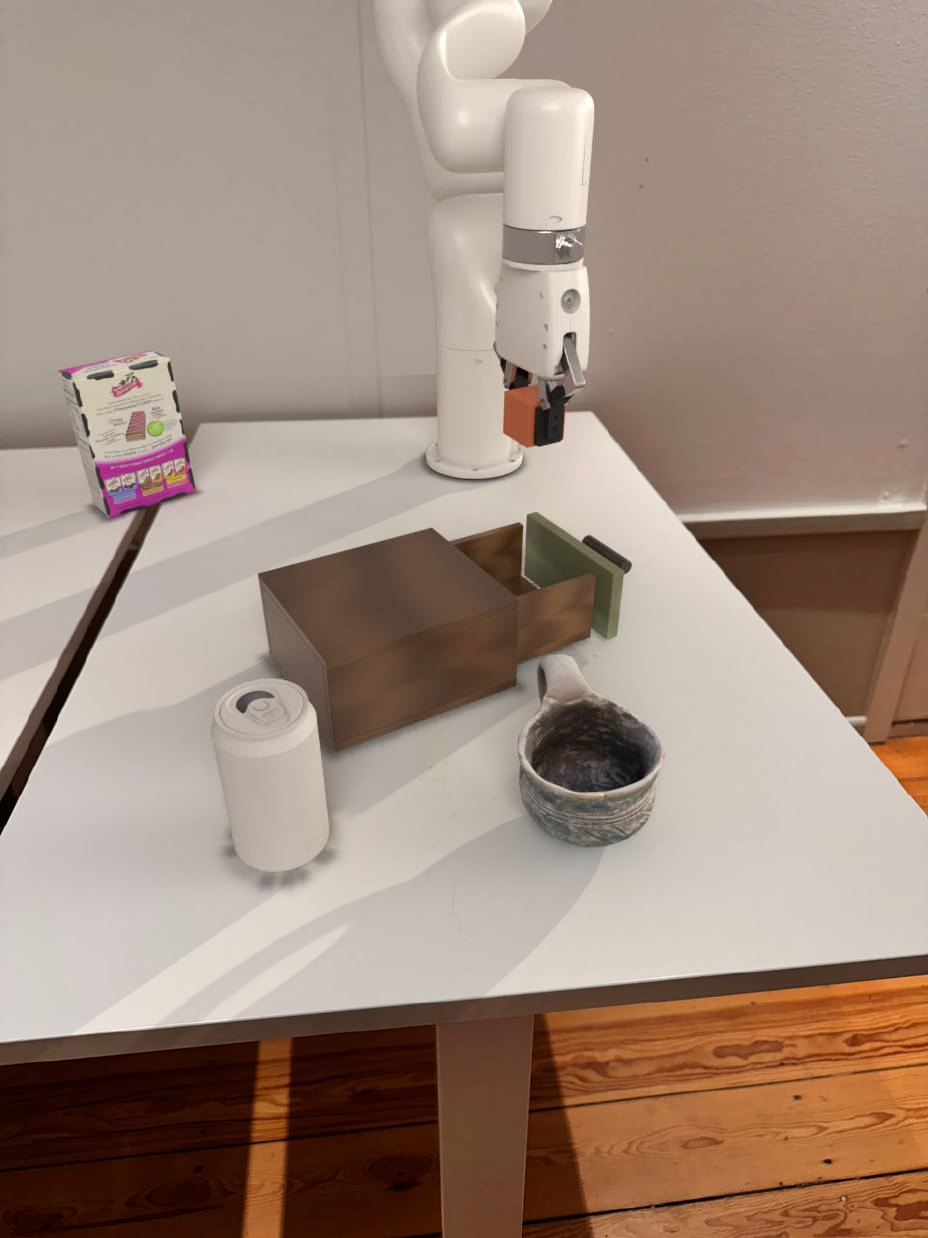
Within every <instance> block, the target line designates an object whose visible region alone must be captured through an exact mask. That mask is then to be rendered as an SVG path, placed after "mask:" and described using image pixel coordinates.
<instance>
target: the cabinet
mask: <svg viewBox="0 0 928 1238" xmlns="http://www.w3.org/2000/svg"><path fill="white" fill-rule="evenodd" d="M449 541H450V540H447V539H446V538H445V537H444V536H443V535H441V533H439V532H438V531H437V530H436V529H434V528H433V527H428V528H425V529H421V530H417V531H413V532H409V533H406V534H402V535H398V536H394V537H391V538H387V539H383V540H379V541H376V542H372V543H367V544H365V545H360V546H356V547H353V548H349V549H346V550H341V551H338V552H337V551H336V552H334V553H330V554H326V555H323V556H318V557H314V558H312V559H307V560H304V561H300V562H296V563H293V564H292V563H291V564H288V565H285V566H284V565H283V566H281V567H277V568H273V569H269V570H265V571H261V572H258V573H257V579H258V584H259V586H258V587H259V592H260V597H261V605H262V606H261V607H262V611H263V619H264V625H265V633H266V639H267V643H268V644H267V646H268V652H269V657H270V659H271V661H272V662H273V664H274V665H275V666H276V668H277V669H278V671H279V672H280V674H281V676H282V677H283V678H284V680H286V681H290V682H292V683H295V684H297V685H298V686H300V687H301V688H302V689H303V690H304V691H305V692H306V694H307V696H308V701H309V702H310V703H311V704H312V706H313V707H314V709H315V711H316V716H317V725H318V730H320V732H321V733H322V734H323V736H324V737H325V739H326V740H327V742H328V743H329V745H330V746H331V748H332V750H333V751H334V752H335V753H337V752H339V751H342V750H346V749H348V748H351V747H353V746H356V745H358V744H359V745H360V744H362V743H364V742H367V741H369V740H373V739H375V738H377V737H381V736H383V735H387V734H389V733H392V732H394V731H397V730H400V729H402V728H406V727H408V726H410V725H413V724H416V723H419V722H421V721H424V720H427V719H429V718H433V717H435V716H438V715H441V714H443V713H446V712H448V711H451V710H454V709H457V708H459V707H463V706H465V705H467V704H470V703H473V702H476V701H478V700H481V699H484V698H486V697H490V696H492V695H494V694H497V693H500V692H503V691H505V690H508V689H512V688H514V687H516V686H517V674H518V672H517V671H518V663H517V649H518V624H519V603H520V600H519V599H518V598H517V597H515V596H514V595H513V594H512V593H511V592H509V591H508V590H507V589H506V588H505V587H503V586H502V585H501V584H500V583H499V582H497V581H496V580H495V579H494V578H492V577H491V576H490V575H489V574H488V573H486V572H485V571H484V570H483V569H482V568H480V567H479V566H478V565H477V564H476V563H474V562H473V561H472V560H471V559H469V558H468V557H467V556H466V555H465V554H463V553H462V552H461V551H460V550H459V549H457V548H456V547H455V546H454V545H453V544H451V543H450V542H449Z"/></svg>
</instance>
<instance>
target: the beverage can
mask: <svg viewBox="0 0 928 1238" xmlns="http://www.w3.org/2000/svg"><path fill="white" fill-rule="evenodd" d="M213 710H214V711H213V716H214V718H213V720H212V722H211V726H210V734H211V741H212V745H213V750H214V755H215V759H216V764H217V768H218V774H219V780H220V784H221V789H222V794H223V798H224V803H225V808H226V813H227V818H228V822H229V827H230V833H231V837H232V838H231V839H232V843H233V848H234V850H235V853H236V854H237V857H238V858H239V859H240V861H242V862H243V863H244V864H245V865H247V866H248V867H250V868H252V869H255V870H257V871H260V872H266V873H282V872H288V871H291V870H295V869H298V868H300V867H302V866H305V865H306V864H309V862H312V861H313V860H314V859H315V858H316V857H317V856H318V855H319V854H320V853H321V852H322V851H323V850H324V848H325V847H326V845H327V842H328V840H329V837H330V821H329V813H328V805H327V797H326V796H327V794H326V786H325V778H324V769H323V761H322V760H323V759H322V751H321V742H320V734H319V727H318V725H317V716H316V711H315V709H314V707H313V706H312V704H311V703H310V702H309V701H308V696H307V694H306V692H305V691H304V690H303V689H302V688H301V687H300V686H298V685H297V684H295V683H292V682H290V681H286V679H282V678H271V677H270V678H259V679H254V680H249V681H246V682H243V683H241V684H238V685H236V686H234V687H232V688H231V689H229V690H228V691H226V692H225V693H224V694H223V695H222V696H221V697H220V698H219V699H218V701H217V702H216V704H215V707H214V709H213Z"/></svg>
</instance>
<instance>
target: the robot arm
mask: <svg viewBox="0 0 928 1238" xmlns="http://www.w3.org/2000/svg"><path fill="white" fill-rule="evenodd" d="M552 2H553V0H373V22H374V29H375V36H376V37H375V38H376V41H377V47H378V50H379V53H380V57H381V60H382V62H383V65H384V68H385V71H386V73H387V75H388V78H389V80H390V82H391V84H392V85H393V88H394V89H395V91H396V93H397V95H398V96H399V98H400V100H401V102H402V104H403V105H404V108H405V110H406V112H407V115H408V118H409V122H410V127H411V131H412V135H413V139H414V144H415V148H416V152H417V157H418V161H419V165H420V169H421V173H422V176H423V180H424V183H425V186H426V189H427V192H428V193H429V195H430V196H431V198H432V199H433V200H434V201H435V202H436V205H434V206H433V208H432V209H431V210H430V212H429V213H428V216H427V219H426V223H425V246H426V251H427V257H428V264H429V269H430V276H431V283H432V293H433V301H434V302H433V304H434V326H435V327H434V328H435V331H434V333H435V365H436V366H435V375H436V376H435V379H436V427H437V428H436V429H437V431H436V433H437V434H436V435H437V440H436V441H435V442H434V443H432V444H431V445H430V446H429V447H427V449H426V451H425V461H426V464H427V466H428V467H429V468H430V469H432V470H433V471H434V472H437V473H438V474H441V475H444V476H447V477H450V478H455V479H463V480H485V479H494V478H497V477H503V476H505V475H508V474H510V473H512V472H514V471H516V470H517V469H519V468H520V466H521V465H522V463H523V454H524V452H523V450H522V448H520V447H519V445H521V444H520V443H518V442H516V441H515V440H513V439H512V438H510V437H508V436H507V435H505V434H504V433H503V417H504V391H507V390H512V389H517V388H522V387H527V386H531V384H532V380H533V377H534V376H536V377H537V384H538V390H539V402H540V406H539V407H535V425H534V444H535V445H536V446H535V447H538V448H540V447H544V446H548V445H552V444H558V443H560V442H562V441H563V440H564V438H563V427H564V428H565V424H564V413H565V414H566V411H565V405H566V406H568V405H569V404H570V400H571V399H572V398H573V397H574V396H575V395H576V394H578V393H579V392H580V391H583V390H584V389H585V388H586V384H587V383H586V379H585V377H584V373H585V372H586V371H587V368H588V363H589V353H590V331H591V328H590V327H591V304H590V302H591V301H590V285H589V276H588V275H589V274H588V269H587V266H585V265H584V254H585V241H586V239H585V238H586V230H587V229H586V228H587V227H586V226H587V215H588V204H589V203H588V202H589V191H590V190H589V189H590V176H591V164H592V163H591V162H592V151H593V150H592V149H593V140H594V139H593V137H594V126H595V125H594V124H595V103H594V99H593V98H592V95H590V93H589V92H588V91H586V90H584V89H582V88H578V87H572V86H570V85H569V84H567V83H566V82H564V81H562V80H558V79H551V78H528V79H527V78H526V79H525V78H524V79H523V78H522V79H519V78H497V77H499V76H500V75H502V74H503V73H504V72H506V71H507V70H508V69H509V68H510V67H511V66H512V65H513V64H514V62H515V61H516V60H517V58H518V56H519V54H520V53H521V50H522V48H523V45H524V43H525V37H526V35H528V33H530V32H531V30H533V29H534V28H535V27H536V26H537V25H538V24H539V23H540V22H541V21H542V20H543V19H544V17H545V16H546V14H547V13H548V11H549V10H550V7H551V5H552V4H553V3H552ZM496 286H497V292H495V287H496ZM550 382H551V383H552V382H556V386H555V387H553V389H552V391H551V392H550V389H551V385H550ZM562 439H563V440H562Z"/></svg>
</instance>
